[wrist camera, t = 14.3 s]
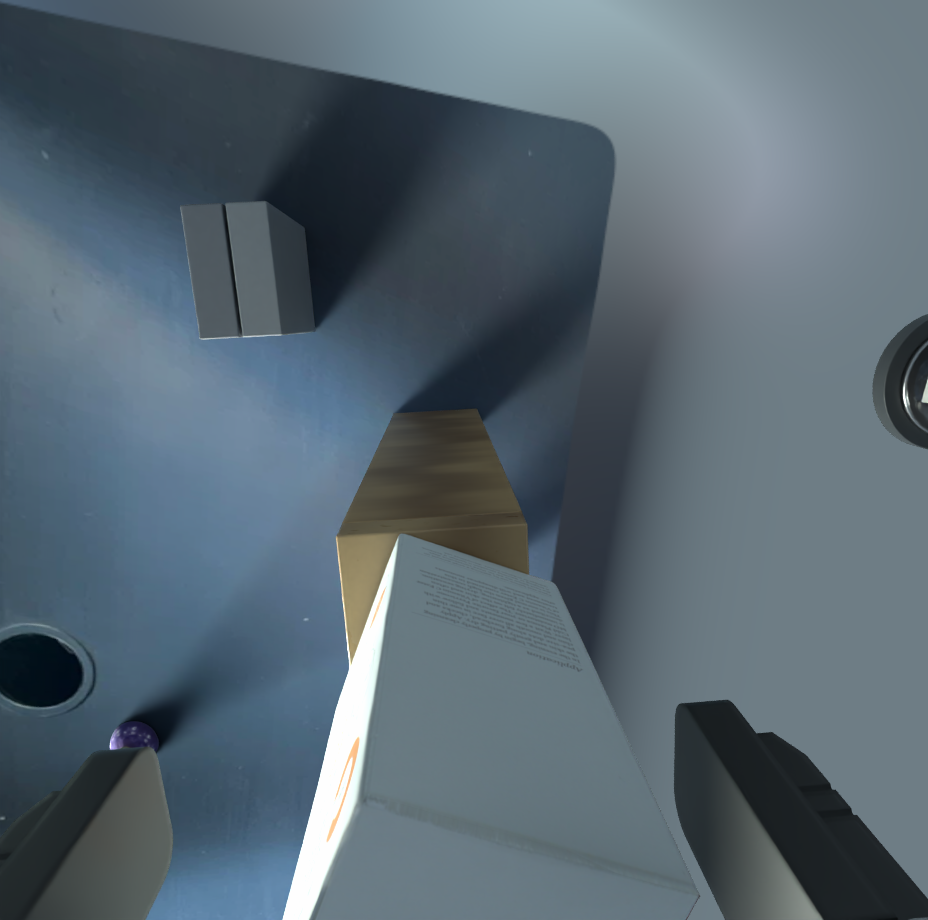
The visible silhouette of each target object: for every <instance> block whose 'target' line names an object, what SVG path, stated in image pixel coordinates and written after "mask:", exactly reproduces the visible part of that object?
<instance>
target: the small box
mask: <svg viewBox="0 0 928 920" xmlns="http://www.w3.org/2000/svg"><path fill="white" fill-rule="evenodd" d="M699 897H700V895H699V893H698V890H697V888H696V886H695V884H694V882H693V879H692V877H691V875H690V873H689V871H688V869H687V866H686V864H685V862H684V860H683V858H682V856H681V853H680V851H679V849H678V847H677V845H676V842H675V840H674V838H673V836H672V834H671V832H670V830H669V827H668V825H667V823H666V821H665V819H664V817H663V815H662V813H661V810H660V808H659V806H658V804H657V802H656V799H655V797H654V795H653V793H652V791H651V788H650V786H649V784H648V782H647V780H646V778H645V775H644V773H643V771H642V769H641V767H640V764H639V762H638V760H637V758H636V757H635V755H634V753H633V750H632V748H631V745H630V744H629V741H628V739H627V737H626V735H625V733H624V730H623V728H622V726H621V724H620V722H619V720H618V717H617V715H616V713H615V711H614V709H613V707H612V705H611V703H610V700H609V698H608V696H607V694H606V692H605V689H604V687H603V685H602V683H601V681H600V679H599V677H598V674H597V672H596V670H595V668H594V666H593V664H592V661H591V659H590V657H589V655H588V653H587V651H586V648H585V646H584V644H583V642H582V640H581V638H580V635H579V633H578V631H577V629H576V627H575V625H574V623H573V621H572V619H571V616H570V614H569V612H568V610H567V607H566V605H565V603H564V601H563V599H562V597H561V595H560V592H559V590H558V588H557V587H556V585H555V584H554V583H552V582H550V581H547V580H544V579H540V578H537V577H534V576H531V575H528V574H525V573H522V572H519V571H516V570H513V569H510V568H507V567H504V566H501V565H498V564H495V563H491V562H488V561H485V560H482V559H479V558H476V557H473V556H471V555H468V554H465V553H462V552H459V551H456V550H453V549H449V548H446V547H443V546H440V545H437V544H434V543H431V542H428V541H425V540H422V539H419V538H416V537H413V536H410V535H407V534H402V533H401V534H400V535H399V536H398V538H397V541H396V543H395V546H394V549H393V551H392V554H391V556H390V559H389V562H388V564H387V567H386V570H385V573H384V575H383V578H382V581H381V584H380V586H379V589H378V592H377V595H376V597H375V600H374V603H373V606H372V608H371V611H370V614H369V617H368V620H367V622H366V625H365V628H364V631H363V634H362V636H361V639H360V642H359V645H358V648H357V650H356V653H355V656H354V659H353V662H352V664H351V667H350V670H349V673H348V676H347V678H346V681H345V684H344V687H343V690H342V693H341V696H340V699H339V702H338V705H337V709H336V712H335V716H334V720H333V725H332V729H331V733H330V737H329V741H328V745H327V749H326V754H325V758H324V762H323V766H322V771H321V775H320V779H319V784H318V788H317V792H316V796H315V799H314V803H313V807H312V811H311V815H310V818H309V822H308V826H307V830H306V834H305V837H304V841H303V845H302V849H301V852H300V856H299V860H298V864H297V867H296V871H295V875H294V879H293V883H292V886H291V890H290V894H289V898H288V902H287V905H286V909H285V913H284V917H283V920H687V918H688V916H689V914H690V913H691V911H692V909H693V907H694V905H695V904H696V902H697V900H698V898H699Z"/></svg>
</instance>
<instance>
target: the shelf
mask: <svg viewBox="0 0 928 920" xmlns="http://www.w3.org/2000/svg"><path fill="white" fill-rule="evenodd" d="M401 533H402V534H407V535H410V536H413V537H416V538H419V539H422V540H425V541H428V542H431V543H434V544H437V545H440V546H443V547H446V548H449V549H453V550H456V551H459V552H462V553H465V554H468V555H471V556H473V557H476V558H479V559H482V560H485V561H488V562H491V563H495V564H498V565H501V566H504V567H507V568H510V569H513V570H516V571H519V572H522V573H525V574H528V575H529V557H528V525H527V523H526V521H525V518H524V516H523V514H522V512H513V513H498V514H482V515H466V516H450V517H435V518H419V519H403V520H387V521H372V522H356V523H343V524H342V526H341V528H340V530H339V532H338V534H337V536H336V541H337V550H338V560H339V569H340V579H341V588H342V598H343V607H344V617H345V626H346V636H347V645H348V655H349V664H350V667H351V664H352V662H353V659H354V656H355V653H356V650H357V648H358V645H359V642H360V639H361V636H362V634H363V631H364V628H365V625H366V622H367V620H368V617H369V614H370V611H371V608H372V606H373V603H374V600H375V597H376V595H377V592H378V589H379V586H380V584H381V581H382V578H383V575H384V573H385V570H386V567H387V564H388V562H389V559H390V556H391V554H392V551H393V549H394V546H395V543H396V541H397V538H398V536H399V535H400V534H401Z"/></svg>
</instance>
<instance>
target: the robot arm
mask: <svg viewBox="0 0 928 920" xmlns="http://www.w3.org/2000/svg"><path fill="white" fill-rule="evenodd" d="M899 391H900V401H901V405H902V408H903V411H904V413H905V415H906V416H907V418H908V419H909V421H910V422H911V423H912V424H913V425H914V426H915V427H917V428H918V429H920V430H921V431H923V432H925V433H928V338H927V339H925V340H924V341H923V342H922V343H921V344H920V345H919V346H918V347H917V348H916V349H915V350H914V352H913V353H912V354H911V356H910V357H909V359H908V361H907V363H906V365H905V367H904V370H903V373H902V376H901V380H900V390H899ZM674 794H675V802H676V808H677V812H678V816H679V820H680V823H681V827H682V829H683V832H684V835H685V837H686V839H687V841H688V843H689V845H690V847H691V849H692V851H693V853H694V855H695V858H696V860H697V862H698V864H699V866H700V868H701V870H702V872H703V874H704V877H705V879H706V881H707V883H708V885H709V887H710V889H711V891H712V893H713V895H714V897H715V900H716V902H717V904H718V906H719V908H720V910H721V912H722V914H723V916H724V918H725V920H928V899H927V897H926V896H925V895H924V894H923V893H922V892H921V890H920V889H919V888H918V887H917V886H916V884H915V883H914V882H913V881H912V880H911V878H910V877H909V876H908V875H907V874H906V873H905V872H904V870H903V869H902V868H901V867H900V865H899V864H898V863H897V862H896V861H895V860H894V858H893V857H892V856H891V855H890V854H889V853H888V851H887V850H886V849H885V848H884V847H883V845H882V844H881V843H880V842H879V841H878V840H877V838H876V837H875V836H874V835H873V834H872V832H871V831H870V830H869V829H868V828H867V826H866V825H865V824H864V823H863V822H862V821H861V819H860V818H859V817H858V816H857V815H853V813H852V811H851V808H850V806H849V805H848V804H847V803H846V802H845V800H844V799H843V798H842V797H841V796H840V795H839V794H838V792H837V791H836V790H832V789H831V785H830V783H829V782H828V780H827V779H826V778H825V777H824V776H823V774H822V773H821V772H820V771H819V770H818V769H817V767H816V766H815V765H814V764H813V763H812V762H811V760H810V759H809V758H808V757H807V756H806V755H805V754H804V753H802V752H801V751H799V750H798V749H796V748H795V747H793V746H792V745H790V744H789V743H787V742H786V741H784V740H783V739H781V738H780V737H778V736H777V735H775V734H774V733H773V732H769V733H756V732H755V731H754V730H753V728H752V727H751V726H750V725H749V723H748V722H747V721H746V719H745V718H744V717H743V715H742V714H741V713H740V712H739V710H738V709H737V708H736V706H735V705H734V704H733V703H732V702H731V701H729V700H718V701H706V702H694V703H682V704H679V705H678V706H677V708H676V714H675V760H674ZM172 848H173V832H172V826H171V821H170V816H169V811H168V806H167V801H166V797H165V792H164V787H163V782H162V777H161V772H160V767H159V762H158V758H157V755H156V753H155V751H154V750H153V749H152V748H151V747H136V748H124V749H112V750H100V751H96V752H94V753H93V754H91V755H90V756H89V757H88V758H87V760H86V761H85V762H84V763H83V765H82V766H81V767H80V768H79V770H78V771H77V772H76V773H75V775H74V776H73V777H72V778H71V780H70V781H69V782H68V783H67V785H66V786H65V787H64V788H63V790H62V791H53V792H51V793H50V794H49V795H48V796H46V797H45V798H44V799H42V800H41V801H40V802H38V803H37V804H36V805H35V806H33V807H32V808H31V809H29V810H28V811H27V812H25V813H24V814H23V815H22V816H20V817H19V818H18V819H16V820H15V821H14V822H13V823H12V824H11V826H10V827H9V828H8V829H7V830H6V831H5V833H4V834H3V835H2V836H1V837H0V920H145V919H146V917H147V915H148V913H149V911H150V909H151V907H152V905H153V903H154V901H155V899H156V897H157V895H158V893H159V891H160V889H161V887H162V885H163V883H164V880H165V878H166V875H167V872H168V869H169V865H170V861H171V856H172Z"/></svg>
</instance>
